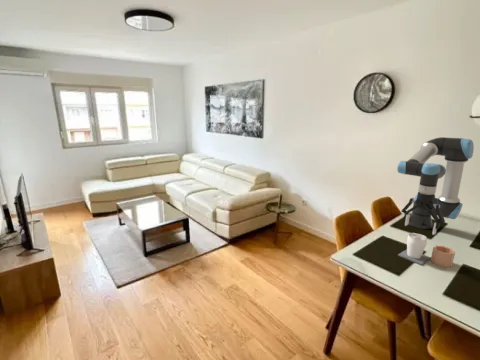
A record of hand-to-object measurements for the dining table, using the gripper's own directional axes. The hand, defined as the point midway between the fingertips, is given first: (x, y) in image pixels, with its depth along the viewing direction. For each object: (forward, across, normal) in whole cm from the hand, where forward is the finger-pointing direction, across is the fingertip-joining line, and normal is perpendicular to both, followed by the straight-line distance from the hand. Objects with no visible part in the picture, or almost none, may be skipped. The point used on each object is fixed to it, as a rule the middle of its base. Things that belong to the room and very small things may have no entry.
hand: (419, 229), depth 144 cm
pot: (+17, +11, +5) cm, 21 cm away
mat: (+17, 0, -1) cm, 17 cm away
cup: (+16, 0, -1) cm, 17 cm away
